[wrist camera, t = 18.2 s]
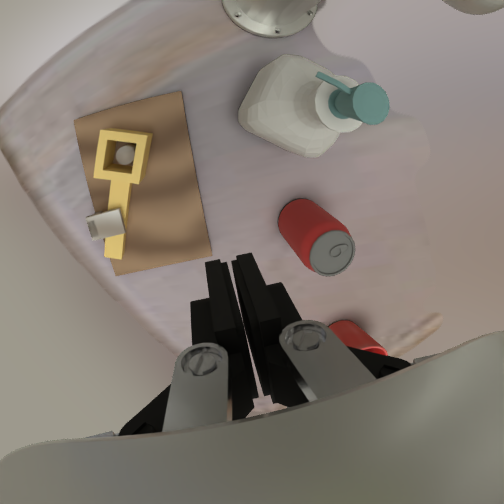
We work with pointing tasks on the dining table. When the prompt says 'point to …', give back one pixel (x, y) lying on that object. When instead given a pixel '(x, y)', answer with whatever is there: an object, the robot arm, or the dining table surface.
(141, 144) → the link
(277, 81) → the soap bottle
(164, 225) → the bracket base
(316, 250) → the beer can
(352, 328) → the flower pot
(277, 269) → the dining table surface
